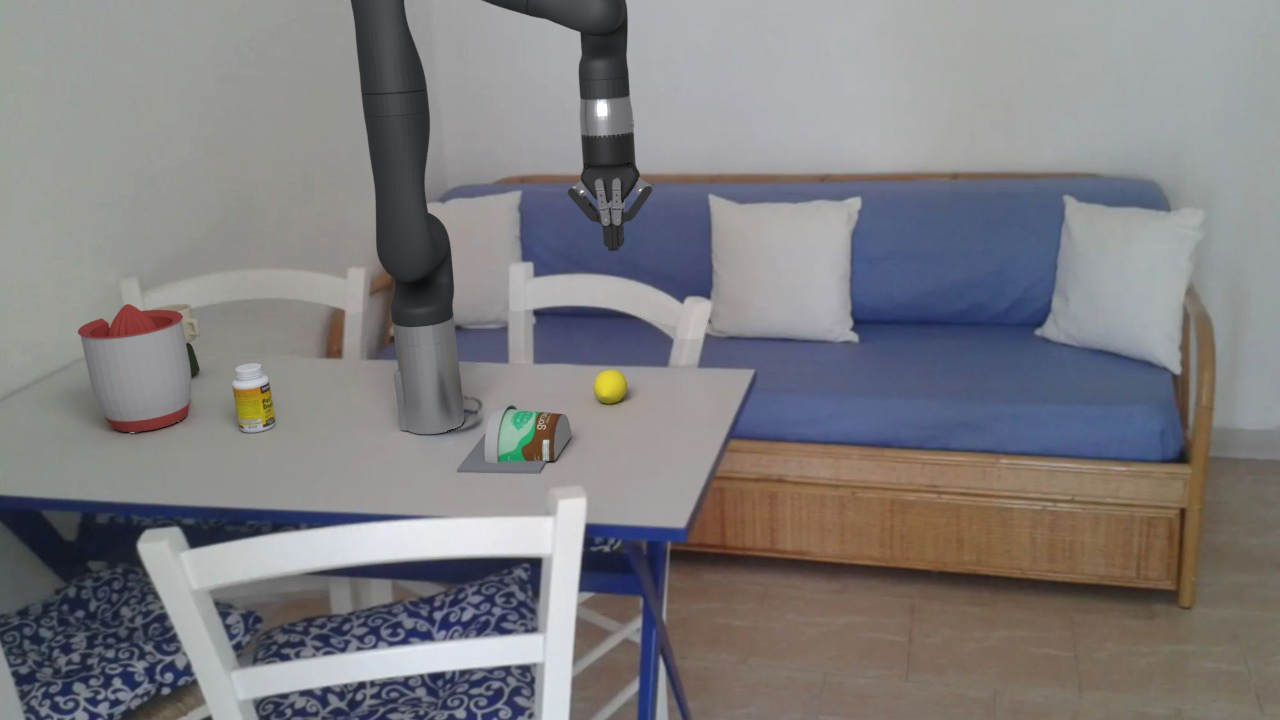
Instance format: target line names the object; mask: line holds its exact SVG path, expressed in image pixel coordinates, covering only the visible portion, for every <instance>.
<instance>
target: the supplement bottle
mask: <svg viewBox="0 0 1280 720" xmlns="http://www.w3.org/2000/svg"><path fill="white" fill-rule="evenodd" d="M234 372H235V377H236V378H235V379H234V380H233V381H232V383H231V385H232V386H231V387H232V393H233V397H234V403H235V410H236V415H237V416H236V417H237V423H238V428H239V430H240V431H242V432H244V433H248V434H252V433H253V434H254V433H255V434H256V433H261V432H265V431H268V430H270V429H273V427H274V426H275V425H276V417H275V416H276V415H275V412H274V411H275V410H274V405H273V397H272V392H271V386H270V379H269V377H268V376H267V375H265V374H264V372H263V369H262V364H260V363H257V362H255V363H254V362H253V363H250V362H249V363H245V364H242V365H239V366H237V367H235V369H234Z"/></svg>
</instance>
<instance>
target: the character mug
mask: <svg viewBox="0 0 1280 720" xmlns="http://www.w3.org/2000/svg"><path fill="white" fill-rule="evenodd" d="M151 310H171V311H176V312H179V313H181V314H182V316H183V319H182V324H183V330H184V335H185V340H186V346H187V351H188V357H189V362H190V369H191V377H192V376H194V375H195V374H197V373H199V372H200V371H201V370H200V365H199V362H198V359H197V356H196V353H195V350H194V347H193V345H192V344H191V342H193V341H195V340H196V337H199V336H201V329H200V324H199V323H200V321H199V320H198V319H197V318H194V316H193V310H192V307H191V305H190V304H188V303H187V304H186V303H174V304H172V303H171V304H167V305H162V306H157V307H155V308H152V309H151Z"/></svg>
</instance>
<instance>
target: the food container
mask: <svg viewBox="0 0 1280 720" xmlns="http://www.w3.org/2000/svg"><path fill="white" fill-rule="evenodd" d="M486 426H487V427H486V429H485V430H486V431H485V433H486V436H485V462H490V463H498V462H502V461H547V462H554V461H556V459H557V458H558V457H559V455H560V454H561V452H562V450H563V449H564V447H565V446H566V444H567V443H568V442H569V440H570V438H571V437H572V431H571V424H570V421H569V418H568V416H567V415H566V413H557V412H556V413H555V412H545V411H533V410H526V409H525V410H524V409H523V410H522V409H518V408H517V407H516V406H515V405H514V404H509V405H503V406H500V407H499V408H495V409H494V410H493V412H492V413H491V415H490V417H489V419H488V422H487V425H486Z"/></svg>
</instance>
